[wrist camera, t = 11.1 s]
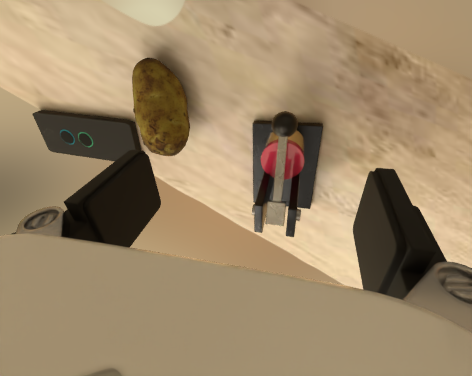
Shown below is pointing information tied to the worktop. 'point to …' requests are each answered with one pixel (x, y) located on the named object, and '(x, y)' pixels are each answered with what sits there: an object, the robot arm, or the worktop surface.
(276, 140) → the cake
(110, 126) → the smart home device
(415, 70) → the worktop surface
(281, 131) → the black ball knob
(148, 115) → the potato
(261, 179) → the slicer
